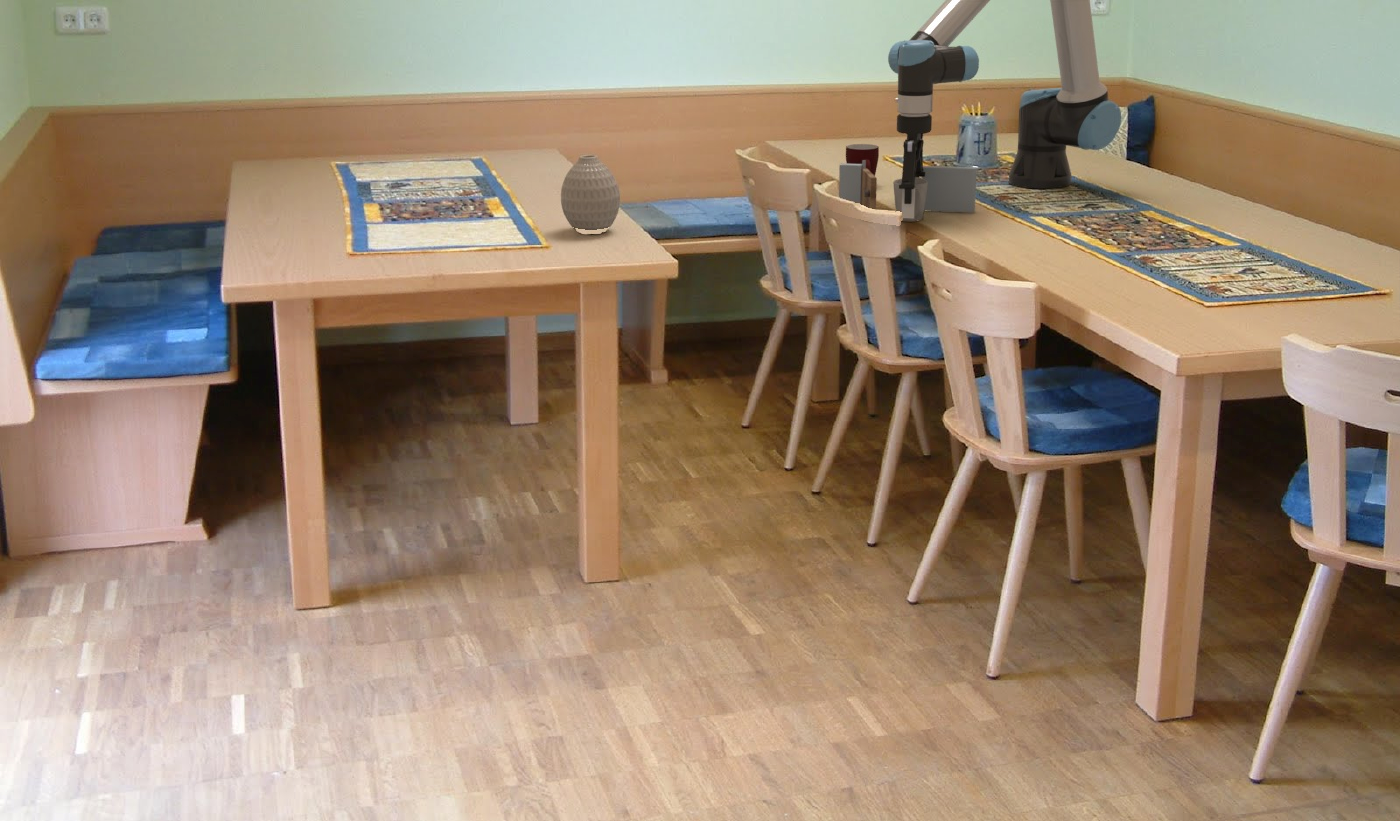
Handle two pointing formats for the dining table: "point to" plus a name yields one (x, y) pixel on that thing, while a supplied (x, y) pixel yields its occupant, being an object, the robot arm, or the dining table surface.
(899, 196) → the cup
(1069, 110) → the robot arm
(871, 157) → the mug
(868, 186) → the door
